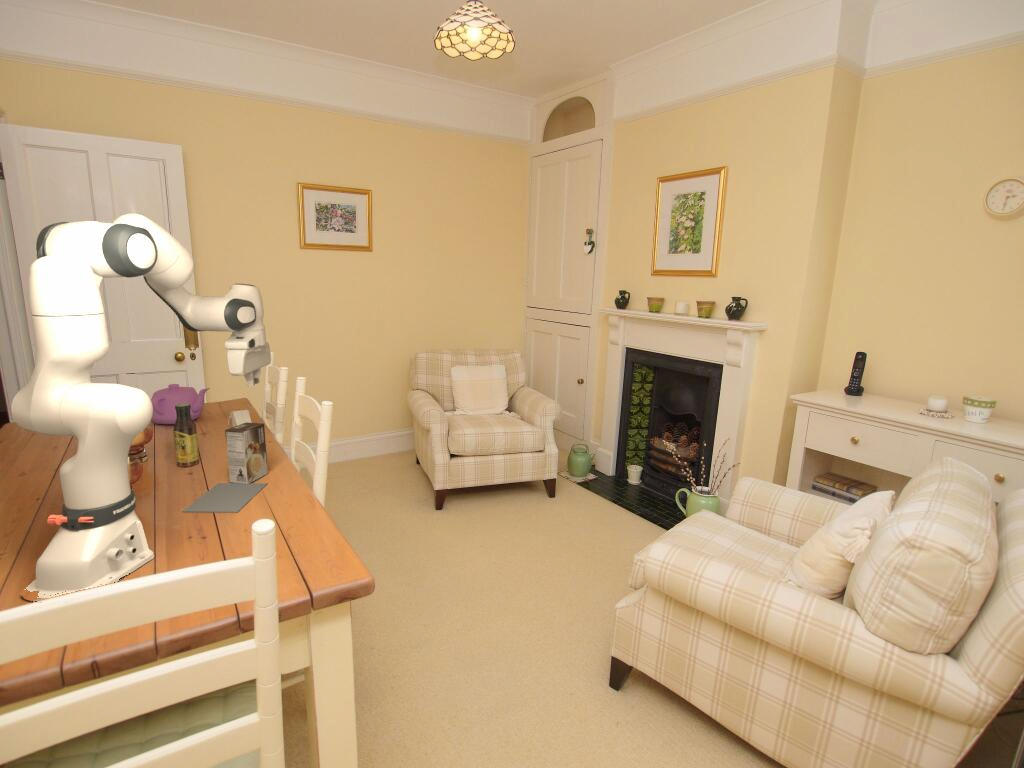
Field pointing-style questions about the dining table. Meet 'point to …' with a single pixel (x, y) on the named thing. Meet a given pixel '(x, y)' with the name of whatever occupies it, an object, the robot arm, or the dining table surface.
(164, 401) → the teapot
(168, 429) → the dining table surface
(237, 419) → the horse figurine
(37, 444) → the dining table surface
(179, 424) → the sauce bottle
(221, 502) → the mat
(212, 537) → the dining table surface
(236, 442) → the coffee box
